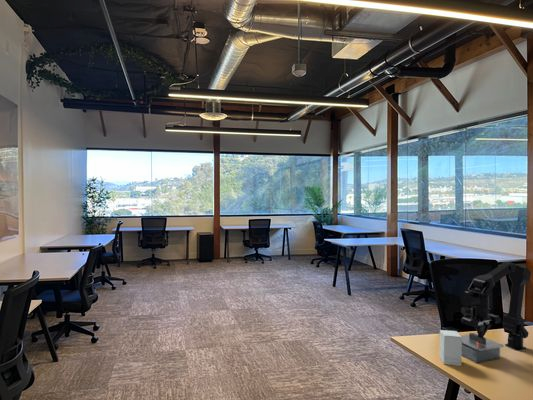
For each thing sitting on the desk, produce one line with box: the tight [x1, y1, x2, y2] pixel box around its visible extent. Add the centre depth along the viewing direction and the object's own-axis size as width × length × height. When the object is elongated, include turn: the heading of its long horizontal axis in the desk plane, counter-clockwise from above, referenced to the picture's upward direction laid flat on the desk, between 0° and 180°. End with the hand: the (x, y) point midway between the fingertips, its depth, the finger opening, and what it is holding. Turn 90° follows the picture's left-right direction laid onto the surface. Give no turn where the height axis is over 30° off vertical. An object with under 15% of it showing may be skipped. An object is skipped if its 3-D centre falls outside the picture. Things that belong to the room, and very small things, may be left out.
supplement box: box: [438, 329, 463, 367], centre depth 161 cm, size 7×7×13 cm
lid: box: [461, 332, 505, 351], centre depth 169 cm, size 15×15×3 cm
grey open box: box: [462, 343, 501, 364], centre depth 169 cm, size 14×14×5 cm
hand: (480, 338), depth 170 cm, fingers closed
